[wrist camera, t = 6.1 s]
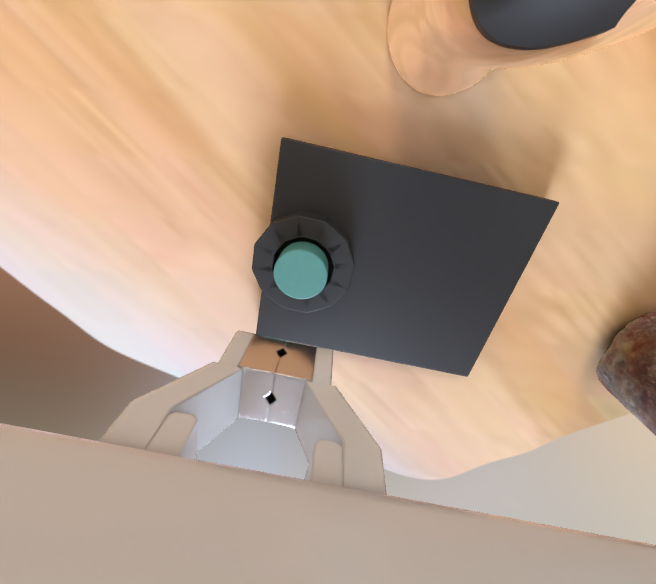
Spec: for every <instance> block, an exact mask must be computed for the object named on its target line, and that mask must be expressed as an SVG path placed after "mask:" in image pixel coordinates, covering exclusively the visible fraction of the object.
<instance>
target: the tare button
mask: <svg viewBox="0 0 656 584" xmlns="http://www.w3.org/2000/svg"><path fill="white" fill-rule="evenodd" d="M273 273H274V279H275V282H276V284H277V286H278V287H279V289H280V290H281V291H282V292H283V293H285V294H286V295H288V296H290V297H292V298H296V299H308V298H311V297H314V296H316V295H317V294H319V293H320V292H321V291H322V290H323V288H324V287H325V285H326V282H327V277H328V260H327V257H326V255H325V253H324V252H323V251H322V250H321V249H320V248H319V247H318V246H316V245H314V244H312V243H309V242H295V243H292V244H290V245H288V246H287V247H286V248H285V249H284V250H283V251H282V252H281V254H280V256H279V258H278V259H277V261H276V263H275V266H274V272H273Z"/></svg>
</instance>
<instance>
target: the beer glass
mask: <svg viewBox="0 0 656 584" xmlns="http://www.w3.org/2000/svg"><path fill="white" fill-rule="evenodd" d="M654 29H656V0H392V2H391V6H390V10H389V15H388V24H387V38H388V46H389V51H390V55H391V58H392V61H393V64H394V66H395V68H396V70H397V71H398V73H399V75H400V76H401V77H402V79H403V80H404V81H405V82H406V83H407V84H408V85H409V86H411V87H412V88H413V89H415V90H417V91H418V92H420V93H423V94H426V95H430V96H449V95H454V94H457V93H460V92H462V91H464V90H466V89H468V88H470V87H472V86H473V85H475V84H476V83H478V82H479V81H480V80H481V79H483V78H484V77H485V76H486V75H487V74H488V73H489V72H490V71H491V70H492V69H507V68H522V67H530V66H536V65H542V64H548V63H554V62H559V61H564V60H568V59H572V58H575V57H578V56H582V55H585V54H588V53H591V52H594V51H597V50H600V49H603V48H606V47H609V46H612V45H615V44H619V43H621V42H624V41H627V40H629V39H632V38H634V37H637V36H639V35H642V34H644V33H646V32H649V31H651V30H654Z"/></svg>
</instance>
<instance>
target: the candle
mask: <svg viewBox="0 0 656 584" xmlns="http://www.w3.org/2000/svg"><path fill="white" fill-rule="evenodd" d="M596 373H597V375H598V377H599V380H600V382H601V383H602V384H603V385H604V387H605V388H606V389H607V390H608V391H609V392H610V393H611V394H612V395H613V396H615V397H616V398H617V399H618V400H619V401H620V402H621V403H622V404H623V405H624V406H625V407H626V408H627V409H628V410H629V411H630V412H631V413H632V414H634V415H635V416H636V417H637V418H638V419H639V420H640V421H641V422H642V423H643V424H644V425H645V426H646V427H647V428H648V429H649V430H650V431H652V433H654V434H655V435H656V312H653V313H647V314H644V315H642V316H640V317H639V318H638V319H635V320H633V321H631V322H630V323H628V324H627V325H626V327H625V328H624V329H623V330H621V331H619V332H618V333H617V335H616V336H615V338H614V339H613V342H612V344H611V346H610V347H608V349H607V351H606V352H605V353H604V355H603V356H602V358H601V360H600V361H599V363H598V366H597V370H596Z"/></svg>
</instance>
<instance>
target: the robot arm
mask: <svg viewBox="0 0 656 584" xmlns="http://www.w3.org/2000/svg"><path fill="white" fill-rule="evenodd" d="M332 362H333V350H332V349H327V348H321V347H313V346H308V345H303V344H298V343H293V342H288V341H284V340H280V339H276V338H271V337H267V336H263V335H258V334H253V333H249V332H244V331H237V332H236V333H235V335H234V337H233V338H232V340H231V342H230V344H229V345H228V347H227V349H226V350H225V352H224V354H223V356H222V357H221V359H220V361H219V362H218V363H216V362H212V363H210V364H208V365H206V366H204V367H202V368H200V369H197V370H195V371H193V372H191V373H189V374H187V375H185V376H183V377H181V378H178V379H176V380H174V381H172V382H170V383H168V384H166V385H164V386H162V387H160V388H157V389H155V390H153V391H151V392H149V393H147V394H145V395H143V396H141V397H139V398H136V399H134V400H133V401H131V402H130V403H129V405H128V406H127V407H126V408H125V409H124V410H123V412H122V413H121V414H120V415H119V417H118V418H117V419H116V420H115V421H114V422H113V424H112V425H111V426H110V427H109V428H108V430H107V431H106V432H105V433H104V434H103V436H102V437H101V438H100V439H99V440H98V441H94V440H88V439H83V438H77V437H71V436H67V435H61V434H56V433H51V432H45V431H40V430H35V429H29V428H24V427H18V426H13V425H8V424H2V423H0V584H656V545H652V544H647V543H641V542H635V541H630V540H625V539H619V538H614V537H609V536H604V535H598V534H592V533H587V532H582V531H577V530H571V529H566V528H561V527H555V526H550V525H544V524H539V523H534V522H528V521H523V520H518V519H512V518H507V517H502V516H496V515H491V514H485V513H480V512H475V511H469V510H463V509H459V508H453V507H448V506H442V505H437V504H431V503H426V502H421V501H415V500H410V499H405V498H400V497H394V496H389V495H387V494H386V485H385V476H384V468H383V459H382V450H381V448H380V447H379V445H378V444H377V443H376V441H375V440H374V439H373V437H372V436H371V434H370V433H369V432H368V430H367V429H366V428H365V426H364V425H363V423H362V422H361V421H360V419H359V418H358V416H357V415H356V414H355V412H354V411H353V410H352V408H351V407H350V405H349V404H348V403H347V401H346V400H345V398H344V397H343V396H342V394H341V393H340V392H339V390H338V389H337V387H336V386H331V379H332ZM238 417H241V418H248V419H253V420H259V421H265V422H270V423H274V424H279V425H284V426H288V427H292V428H295V431H296V433H297V436H298V438H299V441H300V443H301V446H302V448H303V451H304V453H305V456H306V458H307V461H308V463H309V465H308V469H307V472H306V475H305V479H304V480H302V479H297V478H292V477H287V476H281V475H276V474H271V473H266V472H260V471H255V470H249V469H244V468H238V467H233V466H228V465H223V464H217V463H212V462H206V461H201V460H196V456H197V455H196V454H197V452H198V451H200V450H201V449H202V448H203V447H204V446H206V445H207V444H208V443H209V442H210V441H211V440H213V439H214V438H215V437H216V436H217V435H219V434H220V433H221V432H222V431H223V430H225V429H226V428H227V427H228V426H229V425H231V424H232V423H233V422H234V421H235V420H236V419H237V418H238Z"/></svg>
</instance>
